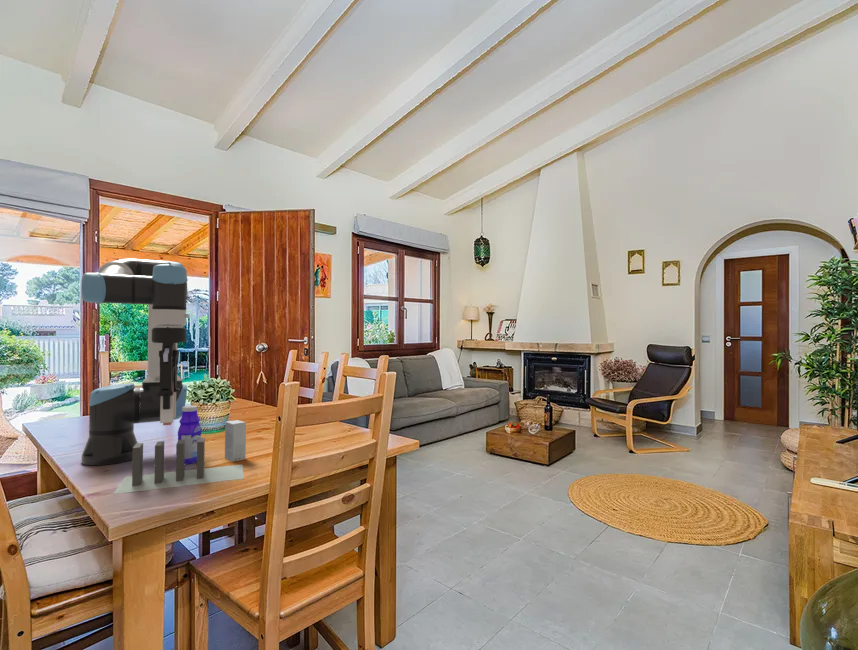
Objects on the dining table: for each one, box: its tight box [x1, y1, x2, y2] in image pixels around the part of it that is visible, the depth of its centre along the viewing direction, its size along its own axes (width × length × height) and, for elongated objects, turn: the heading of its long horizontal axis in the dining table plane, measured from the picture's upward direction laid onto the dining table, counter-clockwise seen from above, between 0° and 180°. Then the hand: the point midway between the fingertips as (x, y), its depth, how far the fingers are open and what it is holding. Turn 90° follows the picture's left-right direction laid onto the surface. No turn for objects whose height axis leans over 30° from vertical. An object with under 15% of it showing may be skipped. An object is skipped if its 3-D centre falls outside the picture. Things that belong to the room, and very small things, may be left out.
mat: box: [113, 463, 245, 495], centre depth 124 cm, size 30×14×1 cm, turn 114°
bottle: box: [177, 405, 202, 465], centre depth 140 cm, size 7×6×17 cm
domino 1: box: [131, 442, 144, 486], centre depth 120 cm, size 2×5×10 cm, turn 24°
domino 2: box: [154, 440, 165, 484], centre depth 122 cm, size 2×5×10 cm, turn 24°
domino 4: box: [196, 437, 206, 479], centre depth 126 cm, size 2×5×10 cm, turn 24°
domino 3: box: [175, 439, 186, 481], centre depth 124 cm, size 2×5×10 cm, turn 24°
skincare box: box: [224, 419, 247, 462], centre depth 143 cm, size 6×4×12 cm
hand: (168, 419), depth 113 cm, fingers closed on end domino, 5 cm apart
